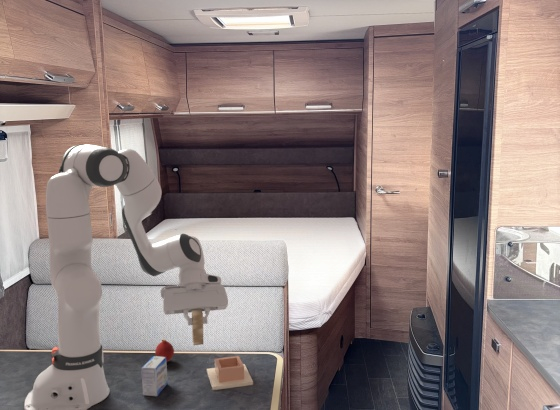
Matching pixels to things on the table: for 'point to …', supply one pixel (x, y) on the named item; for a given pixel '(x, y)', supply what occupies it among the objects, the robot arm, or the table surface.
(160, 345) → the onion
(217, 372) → the stepped square socket
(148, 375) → the medicine box
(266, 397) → the table surface
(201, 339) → the tall tan block
